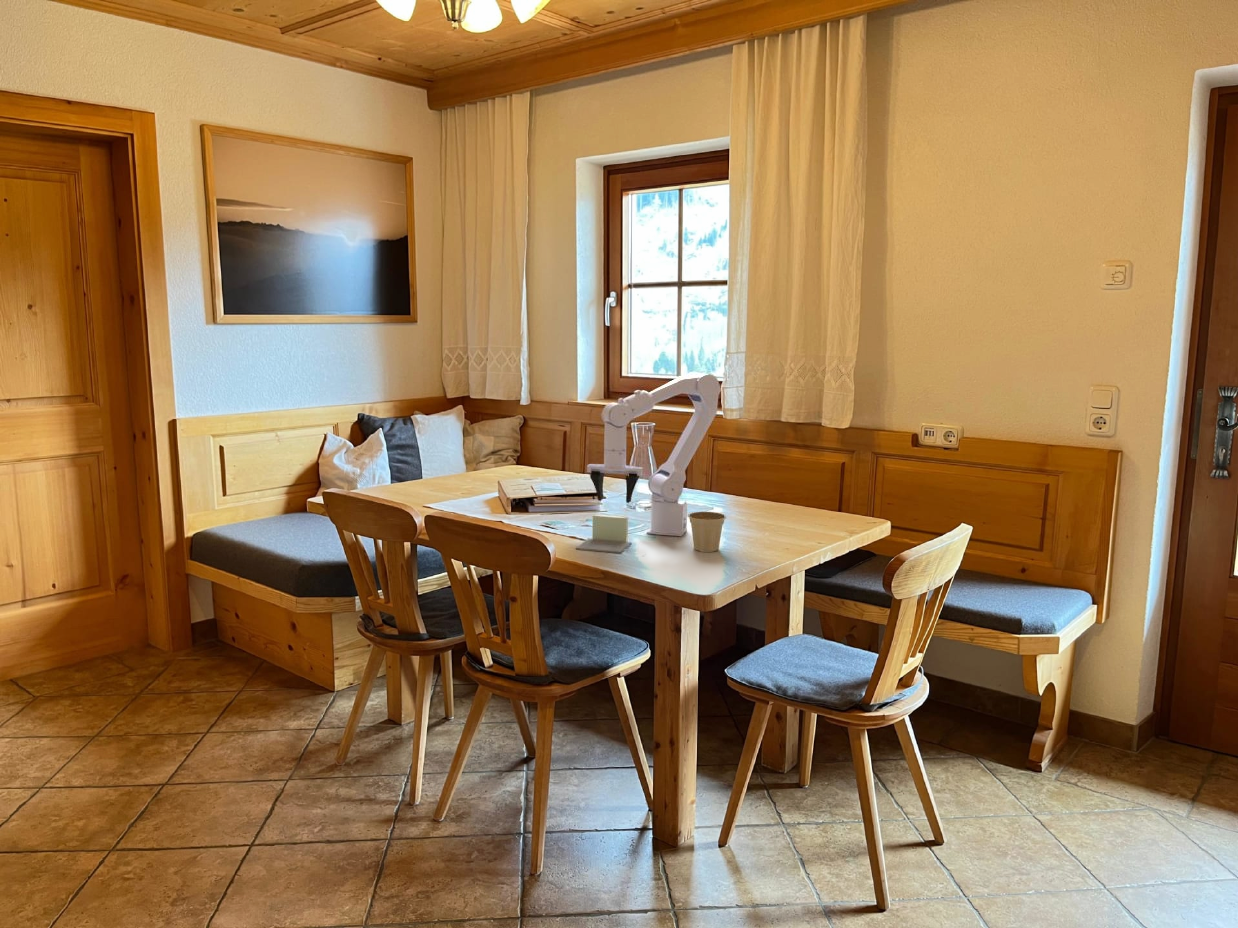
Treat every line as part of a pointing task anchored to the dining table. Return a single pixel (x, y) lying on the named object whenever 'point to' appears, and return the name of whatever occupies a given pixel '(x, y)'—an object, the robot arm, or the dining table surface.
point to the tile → (610, 528)
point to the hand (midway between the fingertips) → (614, 501)
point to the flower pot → (706, 530)
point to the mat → (604, 545)
